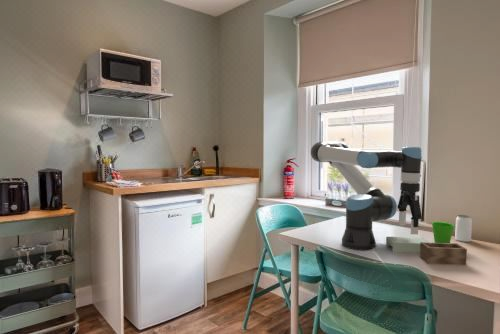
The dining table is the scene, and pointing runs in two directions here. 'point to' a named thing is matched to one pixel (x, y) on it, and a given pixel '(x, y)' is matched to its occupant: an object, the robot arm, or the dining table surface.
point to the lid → (405, 244)
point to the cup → (442, 232)
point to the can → (463, 228)
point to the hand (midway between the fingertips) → (407, 229)
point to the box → (443, 253)
